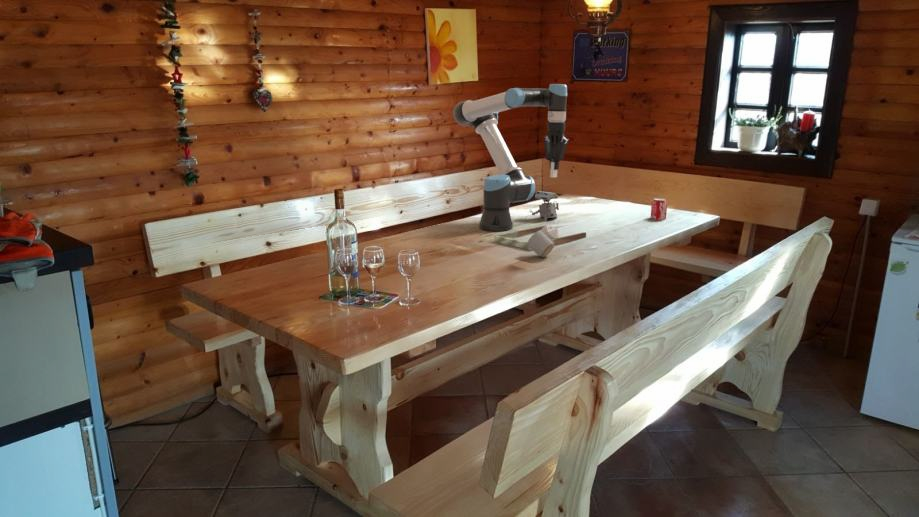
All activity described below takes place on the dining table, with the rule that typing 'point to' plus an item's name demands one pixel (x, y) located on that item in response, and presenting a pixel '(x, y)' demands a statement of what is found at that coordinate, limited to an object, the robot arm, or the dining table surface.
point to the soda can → (658, 209)
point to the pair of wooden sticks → (510, 240)
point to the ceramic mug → (540, 244)
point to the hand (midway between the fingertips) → (553, 177)
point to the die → (550, 232)
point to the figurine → (546, 205)
